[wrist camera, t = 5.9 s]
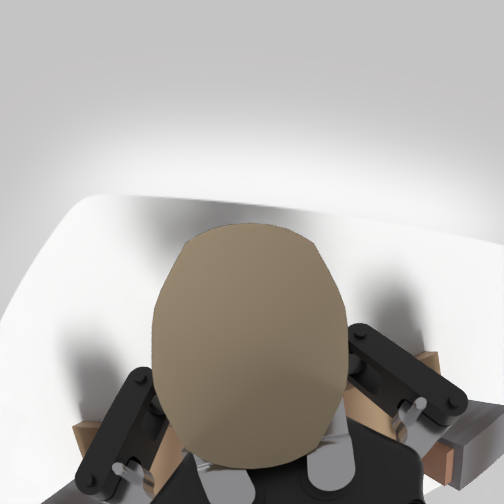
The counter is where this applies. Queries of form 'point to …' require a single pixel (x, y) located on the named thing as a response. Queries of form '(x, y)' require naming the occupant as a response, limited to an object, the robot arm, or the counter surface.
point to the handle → (249, 346)
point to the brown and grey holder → (369, 414)
